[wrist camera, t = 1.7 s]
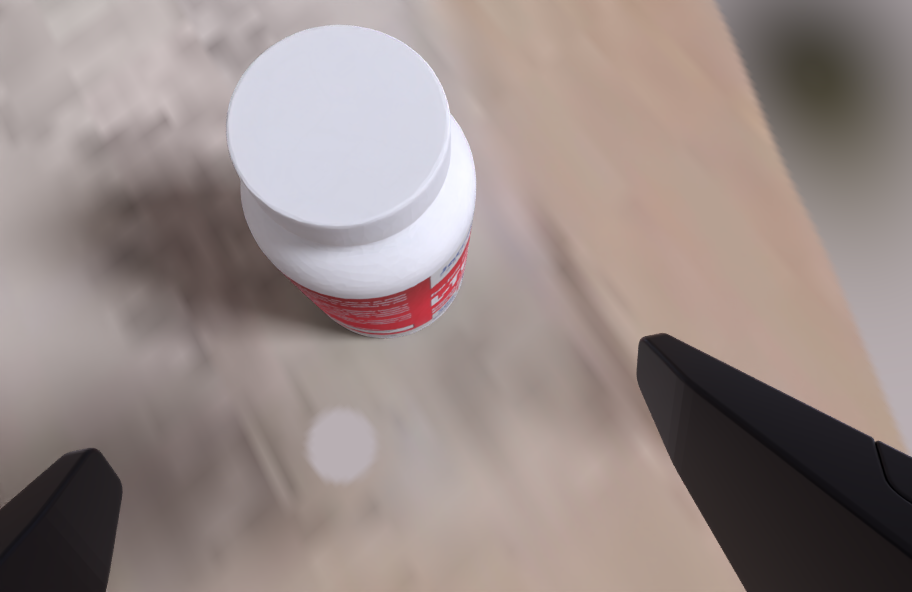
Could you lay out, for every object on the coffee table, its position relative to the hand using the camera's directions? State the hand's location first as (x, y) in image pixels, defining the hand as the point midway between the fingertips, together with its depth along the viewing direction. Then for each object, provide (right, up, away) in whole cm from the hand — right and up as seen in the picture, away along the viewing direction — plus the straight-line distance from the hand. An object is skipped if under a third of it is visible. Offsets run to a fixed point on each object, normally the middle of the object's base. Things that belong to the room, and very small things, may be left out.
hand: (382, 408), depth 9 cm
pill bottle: (-1, +3, +13) cm, 14 cm away
